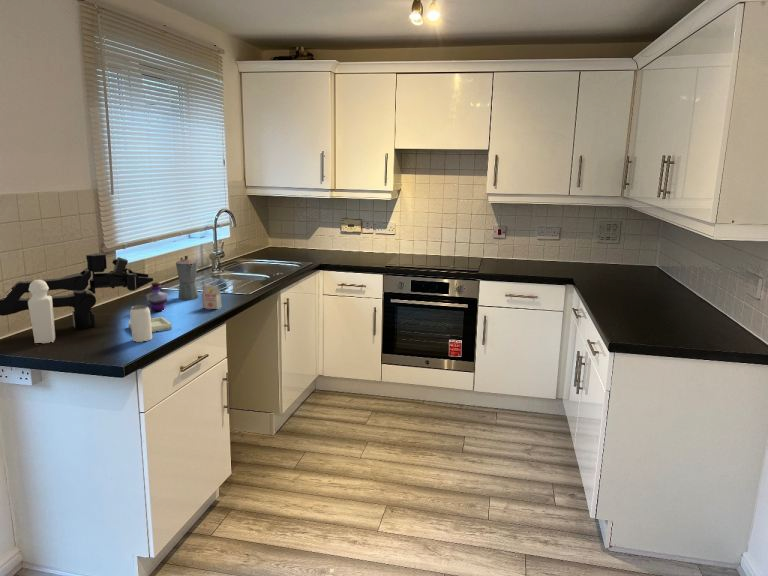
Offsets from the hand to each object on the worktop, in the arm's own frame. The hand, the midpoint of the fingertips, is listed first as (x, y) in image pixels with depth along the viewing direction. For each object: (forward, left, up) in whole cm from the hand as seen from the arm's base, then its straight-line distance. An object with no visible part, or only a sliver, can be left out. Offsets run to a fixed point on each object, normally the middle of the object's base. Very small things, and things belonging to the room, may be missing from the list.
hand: (150, 277), depth 226 cm
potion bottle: (+5, +11, -17) cm, 21 cm away
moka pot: (+22, +27, -17) cm, 39 cm away
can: (-11, -29, -17) cm, 35 cm away
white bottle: (-39, -11, -17) cm, 44 cm away
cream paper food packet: (+25, +1, -17) cm, 30 cm away
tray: (-5, -15, -17) cm, 23 cm away
